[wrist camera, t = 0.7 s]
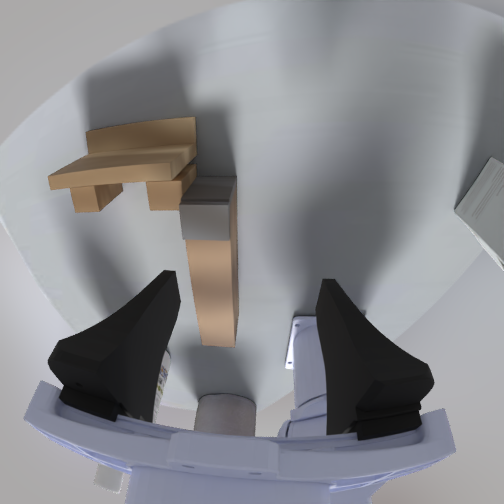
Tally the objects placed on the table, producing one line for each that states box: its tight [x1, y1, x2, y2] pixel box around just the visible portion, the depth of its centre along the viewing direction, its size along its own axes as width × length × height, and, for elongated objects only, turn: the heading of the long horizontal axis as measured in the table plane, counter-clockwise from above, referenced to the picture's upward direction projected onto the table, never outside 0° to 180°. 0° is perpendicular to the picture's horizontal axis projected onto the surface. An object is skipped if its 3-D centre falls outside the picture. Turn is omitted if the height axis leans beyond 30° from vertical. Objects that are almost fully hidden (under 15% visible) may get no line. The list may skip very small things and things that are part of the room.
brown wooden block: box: [179, 176, 239, 347], centre depth 22 cm, size 14×3×5 cm, turn 179°
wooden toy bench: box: [48, 117, 197, 213], centre depth 17 cm, size 6×9×6 cm, turn 89°
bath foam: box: [94, 350, 171, 494], centre depth 24 cm, size 7×7×20 cm
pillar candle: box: [194, 394, 256, 437], centre depth 34 cm, size 10×10×15 cm
